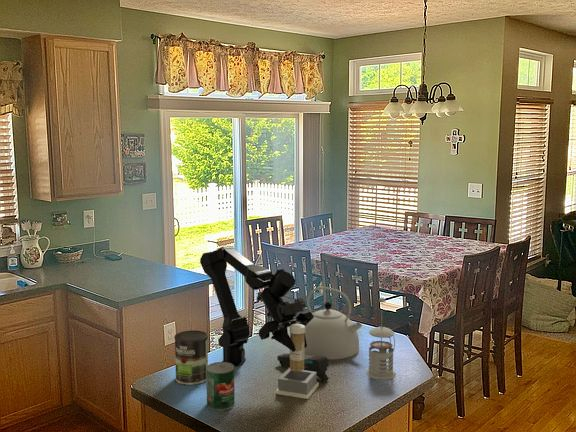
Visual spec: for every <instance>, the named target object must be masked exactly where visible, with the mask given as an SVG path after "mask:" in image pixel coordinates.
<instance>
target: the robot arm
mask: <svg viewBox="0 0 576 432" xmlns="http://www.w3.org/2000/svg"><path fill="white" fill-rule="evenodd" d="M199 259H200V260H199V263H200V265H201V267H202V270H203V272H204V273H205V275H207V276H208V277H209V278H210V279H211V282H212V284H213V285H212V286H213V288H214V291H215V294H216V296H217V300H218V304H219V307H220V310H221V312H222V313H221V314H222V316H223V321H222V327H221V328H222V335H221V336H219V338H218V339H217V342H218V346H219V347H222V355H223V356H222V360H221V362H228V363H231V364H233V365H234V367H239V366H240V365H241V364H243V363H244V362H245V361H246V360H247V359H246V350H245V349H246V348H245V347H244V344H247V343H248V341H249V336H250V333H251V332H250V328H251V327H250V326H249V323H248V319H247V318H246V316H241V315H240V314H239V311H238V310H237V309H238V308H237V306H236V303H235V299H234V297H233V293H232V290H231V287H230V285H229V282H228V278H227V276H226V273H227V272H226V271H227V267H228V264H229V265H230V266H231V267H232V268H233V269H235V270H236V271H237V272H238V273H240V274H241V275H242V276H243V278H244V281H245V283H246V284H247V285H248V286H249V287H250V288H251V289H252V290H254V291H257V290H261V289H263V290H262V291H259V292H257V296H256V301H257V302H261V301H262V303H263V304H264V306H265V308H266V309H267V314H266V315H267V317H268V318H271V319H272V320H271V321H267V322H265V323H264V324H263V325H262V327H261V328H259V330H258V336H259V338H260V340H261V341H263V340H266V339H268V338H270V339H271V340H275V341H276V342H278V343H280V344H281V345H283V346H285V347H286V348H288V349H289V351H290V350H292V351H293V352H295V351H296V348H295V346H294V344H293V342H292V340H291V338H290V334H289V331H288V328H290V325H292V324H302V325H304V326H306V325H307V324H308V323H309V322H310V321H311V320H312V319H313V318H314V316H313V314H312V313H311V312H310V311H309V310H306V311H305V310H304V309H305V308H306V307H307V305H306V304H307V303H306V302H305V300H304V299H303V298H302V297H300V298H297V299H294V302H292V303H289V301H285V300H284V299H283V297H286V295H287V294H288V293H289V292H290V291H291V289H292V288H293V287H294V286H295V285H296V278H295V277H294V275H292V274H291V273H290V272H288V271H285V269H284V268H279V269H277V270H276V272H275V274H274V273H273V272H272V271H271V270H270V269H268V268H266V267H264V266H261V265H256V264H254V263H253V262H251V261H250V260H249V259H248V258H246V257H245V256H243V254H241V253H239V252H238V251H237V250H236V249H235V247H234V246H231V245H227V246H221V247H219V248H217V249H215V250H213V251H209V252H208V251H207V252H204V253H202V255H201V257H200V258H199ZM298 313H299V314H298ZM294 317H295V318H294ZM270 335H272V336H271V337H270ZM304 342H305V344H304V348H306V347H307V342H306V337H305V334H304Z"/></svg>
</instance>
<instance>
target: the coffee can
mask: <svg viewBox="0 0 576 432" xmlns="http://www.w3.org/2000/svg"><path fill="white" fill-rule="evenodd" d="M208 337H209V334H208V333H207V332H206V331H203V330H194V329H193V330H184V331H181V332H177V333H176V334H175V335H174V355H175V358H174V359H175V381H176V382H177V383H178V384H180V385H184V384H185V385H184V386H194V385H199V384H203V383H205V382H207V380H206V379H207V377H206V376H207V375H206V367H207V366H208V365H209V363H208V362H209V361H208V360H209V353H208V352H209V350H208V346H209V345H208V342H209V341H208V339H209V338H208Z"/></svg>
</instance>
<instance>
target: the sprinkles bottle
mask: <svg viewBox="0 0 576 432" xmlns="http://www.w3.org/2000/svg"><path fill="white" fill-rule="evenodd" d="M304 334H305V326H304V325H302V324H292V325H290V327H289V336H290V338H291V340H292V342H293V344H294V346H295V348H296V351H295V352H293V351H292V350H290V349H289V353H290V370H292V371H302V370H304V344H305V342H304Z"/></svg>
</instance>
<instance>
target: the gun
mask: <svg viewBox="0 0 576 432" xmlns="http://www.w3.org/2000/svg"><path fill="white" fill-rule="evenodd" d="M276 357H277V361H278V362H279V365H281V367H283V366H285V367H286V368H287V369H288V368H290V352H289V353H282V354H278V355H277V356H276ZM328 367H329V359H327V358H326V357H324V356H322V357H320V356H306V355H304V370H307V371H314V372H317V378H318V379H319V380H320V382H321V383H326V382H328V380H329V379H330V378H329V376H328V375H327V374H326V372H327V370H328Z"/></svg>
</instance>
